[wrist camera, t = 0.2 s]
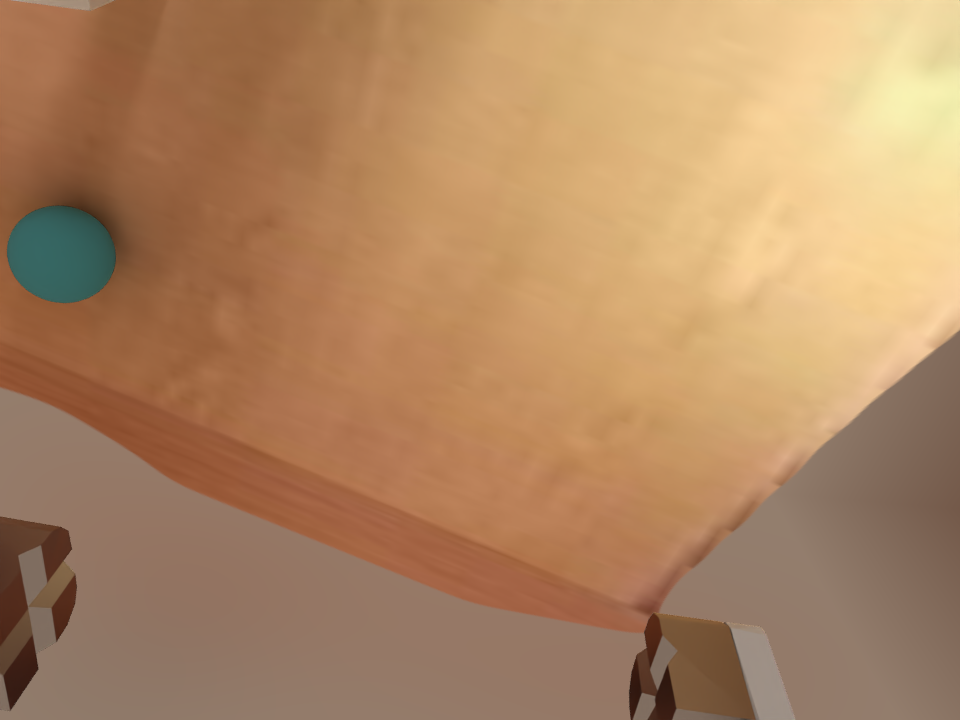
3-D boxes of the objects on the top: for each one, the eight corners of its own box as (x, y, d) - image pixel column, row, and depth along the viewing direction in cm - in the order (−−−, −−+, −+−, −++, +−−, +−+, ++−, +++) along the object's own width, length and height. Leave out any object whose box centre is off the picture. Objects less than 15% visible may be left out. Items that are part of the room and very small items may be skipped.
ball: (30, 184, 51) (-25, 224, 46) (125, 197, 51) (79, 238, 46) (48, 268, 54) (-2, 313, 49) (137, 280, 54) (96, 326, 49)
